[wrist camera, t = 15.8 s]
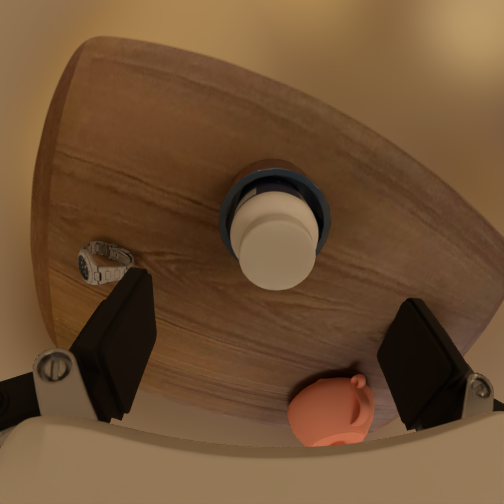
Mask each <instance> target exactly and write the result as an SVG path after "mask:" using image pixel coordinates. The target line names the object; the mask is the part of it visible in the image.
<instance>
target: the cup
mask: <svg viewBox="0 0 504 504" xmlns="http://www.w3.org/2000/svg"><path fill="white" fill-rule="evenodd" d="M273 175H276V176H280V177H283V178H285V179H287V180H289V181H290V182H292V183H293V184H294V185H295V186H296V187H297V188H298V189H299V191H300V192H301V194H302V196H303V197H304V199H305V201H306V202H307V204H308V206H309V207H310V209H311V211H312V212H313V214H314V217H315V219H316V222H317V226H318V243H317V247H316V249H315V253H316V255H317V254H318V253H319V252H320V250H321V249H322V247H323V245H324V244H325V242H326V240H327V237H328V233H329V229H330V225H331V220H330V209H329V205H328V203H327V201H326V199H325V196H324V194H323V192H322V191H321V190H320V189H319V188H318V187H317V185H316V184H315V183H314V182H313V181H312V180H311V179H310V178H309V177H308V176H307V175H306V174H305V173H304V172H303V171H302V170H301V169H300V168H298V167H297V166H295V165H294V164H292V163H289V162H287V161H284V160H279V159H265V160H260V161H257V162H254V163H252V164H250V165H248V166H247V167H245V168H244V169H243V170H242V171H240V172H239V174H238V175H237V176H236V177H235V178H234V180H233V182H232V184H231V186H230V188H229V190H228V192H227V194H226V196H225V198H224V201H223V203H222V205H221V207H220V214H219V229H220V234H221V238H222V241H223V243H224V244H225V246H226V248H227V249H228V251H229V252H230V254H231V255H232V256H233V257H234V258H235V259H237V260H238V261H239V259H238V258H237V257H236V255H235V253H234V251H233V248H232V245H231V239H230V231H231V225H232V221H233V218H234V214H235V211H236V207H237V204H238V200H239V197H240V195H241V193H242V191H243V190H244V188H245V187H246V186H247V185H248V184H249V183H250V182H252V181H254V180H256V179H258V178H260V177H266V176H273ZM316 255H315V256H316Z"/></svg>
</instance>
